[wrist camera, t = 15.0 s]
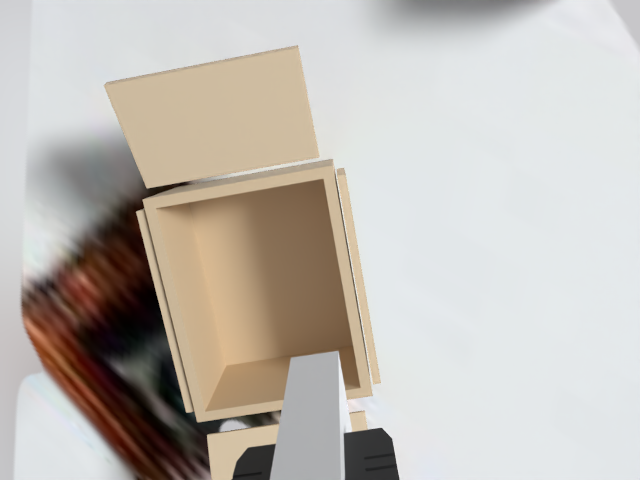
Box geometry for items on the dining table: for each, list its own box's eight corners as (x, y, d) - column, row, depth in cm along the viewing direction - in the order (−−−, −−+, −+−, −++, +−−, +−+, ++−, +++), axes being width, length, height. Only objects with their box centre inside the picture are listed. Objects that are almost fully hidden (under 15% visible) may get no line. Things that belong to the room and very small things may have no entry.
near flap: (148, 184, 38) (106, 82, 34) (319, 153, 37) (298, 45, 33) (146, 188, 37) (103, 85, 33) (319, 157, 37) (298, 47, 32)
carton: (168, 188, 47) (130, 201, 38) (341, 157, 46) (343, 163, 37) (212, 373, 51) (186, 424, 42) (374, 347, 50) (382, 394, 41)
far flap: (206, 435, 41) (217, 539, 40) (364, 411, 40) (381, 516, 39) (209, 433, 42) (220, 536, 40) (364, 410, 41) (381, 514, 39)
